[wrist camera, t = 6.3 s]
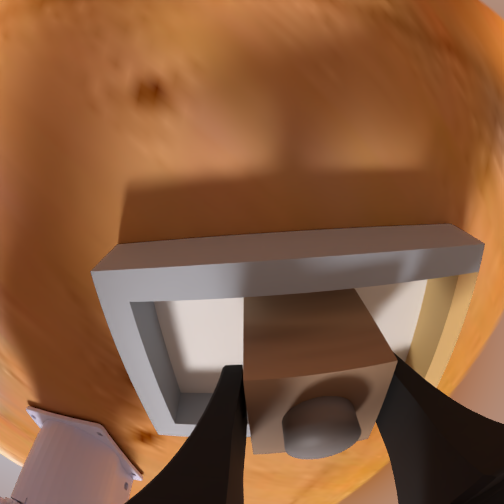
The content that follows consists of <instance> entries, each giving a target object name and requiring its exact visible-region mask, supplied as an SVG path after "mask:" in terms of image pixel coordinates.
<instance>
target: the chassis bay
mask: <svg viewBox="0 0 504 504" xmlns="http://www.w3.org/2000/svg"><path fill="white" fill-rule="evenodd" d="M484 245H485V244H484V243H483V242H481V241H480V240H478V239H476V238H475V237H473V236H471V235H470V234H468V233H466V232H465V231H463V230H461V229H459V228H458V227H456V226H454V225H452V224H428V225H403V226H381V227H360V228H341V229H323V230H305V231H289V232H273V233H257V234H243V235H228V236H214V237H201V238H188V239H175V240H163V241H150V242H139V243H127V244H117V245H116V246H115V247H114V248H113V249H112V250H111V251H110V252H109V253H108V254H107V255H106V256H105V257H104V258H103V259H102V260H101V261H100V262H99V263H98V264H97V265H96V266H95V267H94V268H93V269H92V270H91V271H90V272H91V275H92V279H93V282H94V285H95V288H96V292H97V295H98V298H99V301H100V304H101V307H102V310H103V313H104V315H105V318H106V321H107V324H108V326H109V329H110V332H111V334H112V337H113V340H114V342H115V345H116V347H117V350H118V352H119V355H120V357H121V359H122V362H123V364H124V366H125V369H126V371H127V373H128V375H129V378H130V380H131V382H132V384H133V386H134V388H135V390H136V392H137V395H138V397H139V399H140V401H141V403H142V405H143V407H144V409H145V411H146V412H147V414H148V416H149V418H150V420H151V422H152V424H153V426H154V427H155V429H156V431H157V433H158V435H170V436H186V437H189V436H190V434H191V433H192V431H193V430H194V428H195V426H196V425H197V423H198V421H199V419H200V418H201V416H202V414H203V413H204V411H205V409H206V407H207V405H208V403H209V401H210V399H211V397H212V395H213V392H214V390H215V388H216V385H217V383H218V380H219V378H220V375H221V372H222V368H223V367H224V366H225V365H242V366H243V313H244V297H257V296H271V295H285V294H297V293H309V292H320V291H331V290H341V289H351V288H354V289H355V290H356V292H357V293H358V295H359V296H360V298H361V300H362V301H363V303H364V304H365V306H366V308H367V309H368V311H369V313H370V314H371V316H372V317H373V319H374V321H375V322H376V324H377V326H378V327H379V329H380V331H381V332H382V334H383V336H384V338H385V339H386V341H387V343H388V344H389V346H390V348H391V350H392V351H393V352H394V353H395V354H396V355H397V356H398V357H400V358H401V359H402V360H403V361H404V362H405V363H406V364H408V365H409V366H410V367H411V368H412V369H413V370H415V371H416V372H417V373H418V374H419V375H420V376H422V377H423V378H424V379H425V380H427V381H428V382H429V383H430V384H432V385H433V386H434V387H436V388H437V386H438V384H439V382H440V379H441V377H442V375H443V373H444V371H445V368H446V366H447V364H448V362H449V359H450V357H451V354H452V352H453V350H454V347H455V345H456V342H457V339H458V337H459V334H460V331H461V329H462V326H463V323H464V320H465V317H466V314H467V311H468V308H469V305H470V301H471V298H472V295H473V291H474V288H475V284H476V280H477V276H478V272H479V268H480V264H481V260H482V255H483V250H484ZM246 437H251V434H250V427H249V420H248V413H247V435H246Z"/></svg>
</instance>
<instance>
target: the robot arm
mask: <svg viewBox="0 0 504 504" xmlns="http://www.w3.org/2000/svg"><path fill="white" fill-rule="evenodd" d="M393 353H394V352H393ZM394 355H395V356H396V358H397V360H398V361H397V365H396V368H395V371H394V374H393V377H392V380H391V383H390V385H389V388H388V391H387V394H386V396H385V399H384V402H383V404H382V407H381V409H380V412H379V414H378V417H377V419H376V423H377V426H378V428H379V431H380V433H381V436H382V438H383V441H384V443H385V446H386V448H387V451H388V454H389V457H390V461H391V465H392V470H393V474H394V479H395V484H396V489H397V496H398V503H399V504H504V424H502V423H499V422H496V421H493V420H491V419H488V418H486V417H484V416H482V415H480V414H478V413H475V412H473V411H471V410H470V409H467V408H466V407H464V406H462V405H461V404H459V403H457V402H456V401H454V400H452V399H451V398H450V397H448V396H447V395H445V394H444V393H442V392H441V391H440V390H438V389H437V388H436V387H434V386H433V385H432V384H430V383H429V382H428V381H427V380H425V379H424V378H423V377H422V376H420V375H419V374H418V373H417V372H416V371H415V370H413V369H412V368H411V367H410V366H409V365H408V364H406V363H405V362H404V361H403V360H402V359H401V358H400V357H398V356H397V355H396V354H395V353H394ZM26 411H27V412H28V414H29V415H30V416H31V417H32V419H33V420H34V421H35V422H36V424H37V425H38V426H39V427H40V431H39V433H38V435H37V437H36V440H35V442H34V444H33V446H32V448H31V450H30V452H29V454H28V457H27V459H26V461H25V463H24V466H23V468H22V471H21V473H20V475H19V477H18V480H17V482H16V485H15V488H14V490H13V492H12V495H11V498H12V499H9V498H7V497H5V499H3V498H2V497H0V504H244V496H243V471H244V459H245V447H246V435H247V406H246V398H245V391H244V383H243V366H242V365H225V366H224V367H223V368H222V372H221V375H220V378H219V380H218V383H217V385H216V388H215V390H214V392H213V395H212V397H211V399H210V401H209V403H208V405H207V407H206V409H205V411H204V413H203V414H202V416H201V418H200V419H199V421H198V423H197V425H196V426H195V428H194V430H193V431H192V433H191V434H190V436H189V437H188V439H187V440H186V441H185V443H184V444H183V446H182V447H181V448H180V450H179V451H178V452H177V453H176V455H175V456H174V457H173V458H172V459H171V461H170V462H169V463H168V464H167V465H166V466H165V468H164V469H163V470H162V471H161V472H160V473H159V474H158V475H157V476H156V477H155V478H154V479H153V480H152V481H151V482H150V483H148V484H147V485H146V486H145V487H144V488H143V489H142V490H141V491H140V492H139V493H137V494H136V495H135V496H133V497H132V498H131V499H130V500H129V496H130V491H131V487H132V483H133V479H134V480H140V481H141V480H143V476H142V475H141V474H140V473H139V472H138V470H137V469H136V468H135V467H134V466H133V465H132V463H131V462H130V461H129V460H128V458H127V457H126V456H125V455H124V454H123V452H122V451H121V450H120V448H119V447H118V446H117V445H116V443H115V442H114V441H113V439H112V438H111V437H110V435H109V434H108V433H107V431H106V430H105V428H104V427H103V426H102V425H100V424H98V423H94V422H89V421H84V420H80V419H75V418H71V417H67V416H63V415H59V414H55V413H51V412H47V411H44V410H40V409H37V408H34V407H31V406H28V407H27V408H26Z"/></svg>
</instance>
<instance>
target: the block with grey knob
mask: <svg viewBox="0 0 504 504" xmlns="http://www.w3.org/2000/svg"><path fill="white" fill-rule="evenodd" d="M397 361H398V360H397V358H396V356H395V355H394V353H393V351H392V350H391V348H390V346H389V344H388V343H387V341H386V339H385V338H384V336H383V334H382V332H381V331H380V329H379V327H378V326H377V324H376V322H375V321H374V319H373V317H372V316H371V314H370V313H369V311H368V309H367V308H366V306H365V304H364V303H363V301H362V300H361V298H360V296H359V295H358V293H357V292H356V290H355V289H354V288H351V289H341V290H331V291H320V292H309V293H297V294H285V295H271V296H257V297H244V313H243V383H244V391H245V398H246V406H247V413H248V420H249V427H250V434H251V441H252V448H253V454H270V453H282V452H287V454H289V455H290V456H292V457H295V458H299V459H319V458H324V457H329V456H332V455H335V454H338V453H340V452H342V451H344V450H346V449H348V448H349V447H351V446H352V445H353V444H354V443H355V442H356V441H360V440H364V439H368V438H369V435H370V433H371V431H372V429H373V426H374V424H375V422H376V419H377V417H378V414H379V412H380V409H381V407H382V404H383V402H384V399H385V396H386V394H387V391H388V388H389V385H390V383H391V380H392V377H393V374H394V371H395V368H396V365H397Z"/></svg>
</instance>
